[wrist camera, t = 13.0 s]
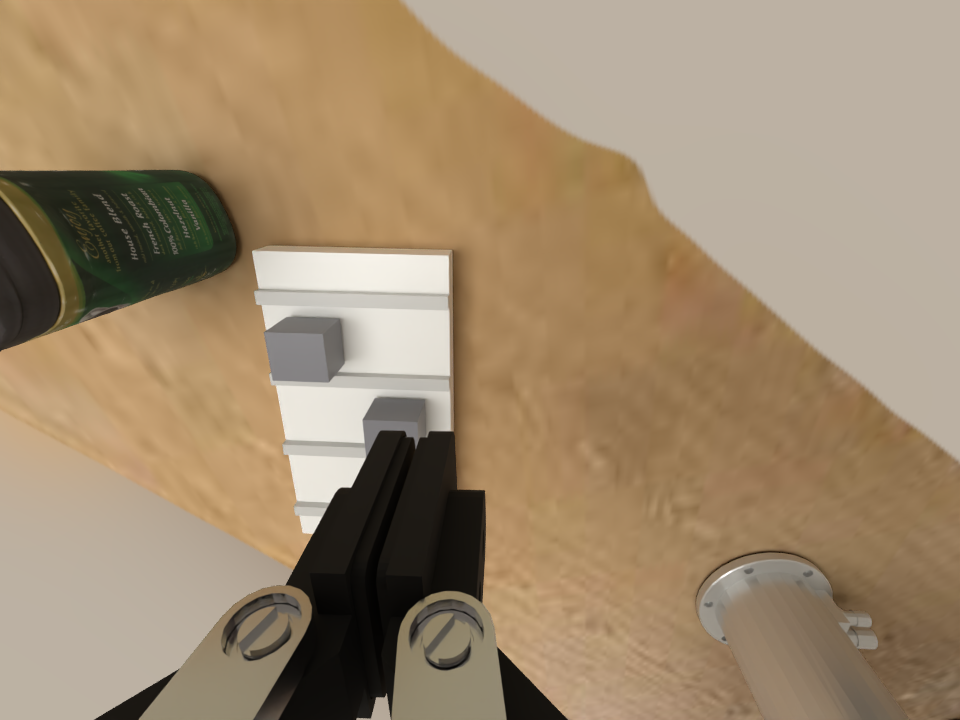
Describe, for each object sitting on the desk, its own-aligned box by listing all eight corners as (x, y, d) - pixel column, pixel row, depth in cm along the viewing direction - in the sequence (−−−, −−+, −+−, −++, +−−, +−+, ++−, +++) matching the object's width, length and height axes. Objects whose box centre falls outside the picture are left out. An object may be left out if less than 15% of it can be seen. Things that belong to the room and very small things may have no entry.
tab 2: (425, 399, 35) (417, 422, 32) (426, 438, 37) (419, 463, 34) (374, 397, 35) (362, 419, 32) (378, 436, 37) (366, 461, 34)
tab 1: (339, 318, 33) (322, 334, 30) (344, 363, 34) (328, 382, 31) (286, 316, 33) (263, 332, 30) (293, 361, 35) (272, 380, 31)
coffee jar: (206, 155, 32) (-139, 138, 15) (256, 263, 35) (16, 354, 18) (92, 194, 33) (-342, 219, 16) (150, 294, 36) (-168, 407, 19)
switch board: (452, 249, 34) (447, 257, 31) (454, 520, 44) (451, 546, 41) (268, 245, 34) (246, 252, 31) (313, 514, 44) (299, 538, 41)
